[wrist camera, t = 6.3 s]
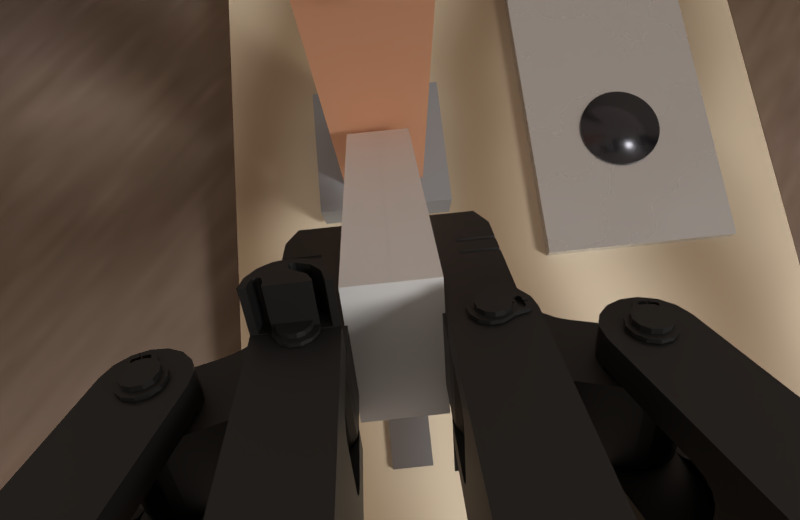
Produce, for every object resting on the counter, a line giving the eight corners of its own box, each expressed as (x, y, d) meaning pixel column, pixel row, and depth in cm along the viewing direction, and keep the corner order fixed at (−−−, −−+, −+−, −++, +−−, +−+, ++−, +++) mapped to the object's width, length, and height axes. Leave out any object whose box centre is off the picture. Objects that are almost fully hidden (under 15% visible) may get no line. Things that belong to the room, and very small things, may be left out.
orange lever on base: (434, 100, 19) (469, -268, 9) (449, 211, 18) (507, -45, 8) (318, 112, 19) (205, -243, 8) (326, 224, 18) (211, -17, 8)
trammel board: (656, -164, 24) (913, -740, 12) (824, 483, 18) (1707, 674, 6) (234, -124, 24) (52, -667, 12) (261, 544, 18) (-57, 873, 6)
